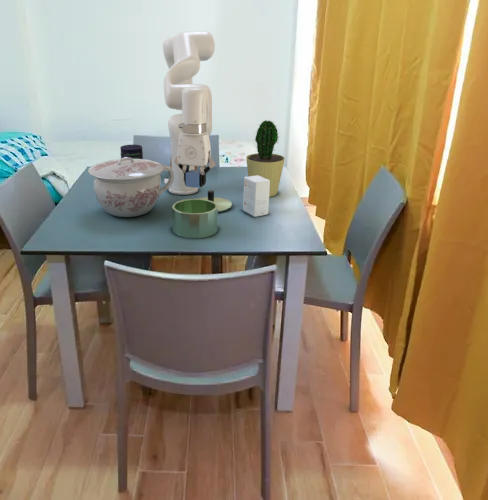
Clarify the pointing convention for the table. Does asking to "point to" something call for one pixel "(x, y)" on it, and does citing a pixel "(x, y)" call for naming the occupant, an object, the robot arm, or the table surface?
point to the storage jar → (132, 151)
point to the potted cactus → (266, 156)
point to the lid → (218, 201)
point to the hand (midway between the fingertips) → (194, 184)
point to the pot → (195, 218)
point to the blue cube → (192, 178)
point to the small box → (256, 195)
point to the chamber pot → (129, 185)
